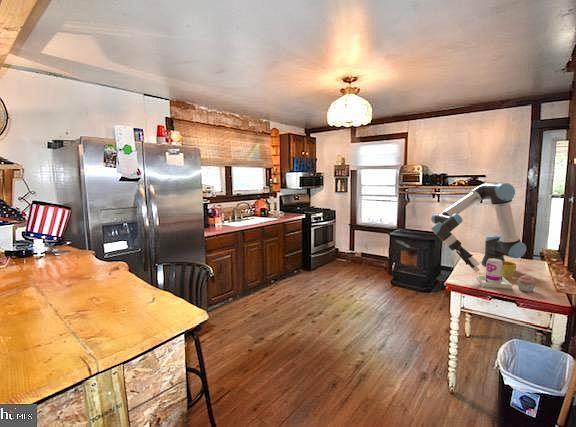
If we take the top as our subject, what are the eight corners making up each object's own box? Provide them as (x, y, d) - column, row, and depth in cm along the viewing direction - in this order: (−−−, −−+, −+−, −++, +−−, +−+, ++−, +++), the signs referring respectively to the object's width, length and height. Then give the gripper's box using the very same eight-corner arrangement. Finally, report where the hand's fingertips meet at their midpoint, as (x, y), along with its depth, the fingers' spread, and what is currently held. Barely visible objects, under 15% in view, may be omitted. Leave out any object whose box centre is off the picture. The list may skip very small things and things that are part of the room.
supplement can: (494, 286, 178) (496, 262, 176) (482, 281, 186) (483, 258, 184) (504, 284, 181) (506, 261, 179) (491, 280, 189) (493, 257, 187)
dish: (476, 279, 192) (476, 275, 192) (502, 281, 188) (503, 277, 187) (483, 287, 179) (483, 282, 178) (511, 289, 174) (512, 285, 174)
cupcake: (526, 287, 178) (527, 271, 177) (540, 293, 169) (541, 276, 167) (511, 287, 178) (512, 271, 176) (524, 293, 168) (525, 277, 167)
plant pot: (511, 281, 188) (512, 266, 187) (493, 276, 197) (494, 262, 196) (518, 277, 194) (519, 263, 193) (500, 273, 203) (501, 260, 201)
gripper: (449, 242, 205) (473, 266, 199) (445, 250, 184) (472, 277, 178) (458, 235, 202) (483, 259, 195) (455, 242, 181) (483, 270, 175)
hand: (478, 268), depth 187 cm, fingers open, 13 cm apart
